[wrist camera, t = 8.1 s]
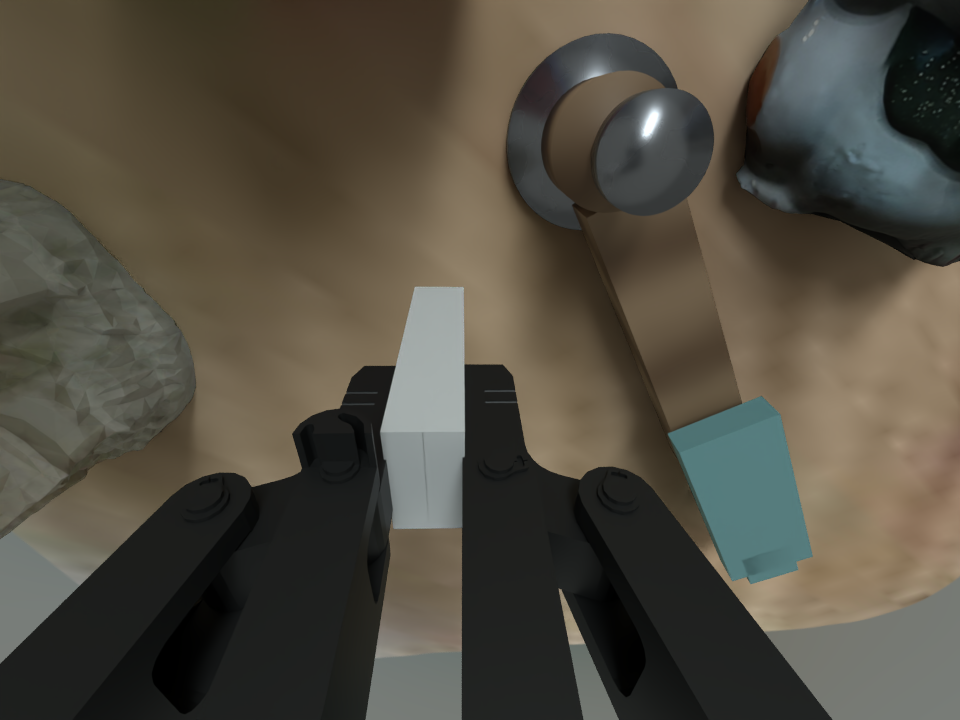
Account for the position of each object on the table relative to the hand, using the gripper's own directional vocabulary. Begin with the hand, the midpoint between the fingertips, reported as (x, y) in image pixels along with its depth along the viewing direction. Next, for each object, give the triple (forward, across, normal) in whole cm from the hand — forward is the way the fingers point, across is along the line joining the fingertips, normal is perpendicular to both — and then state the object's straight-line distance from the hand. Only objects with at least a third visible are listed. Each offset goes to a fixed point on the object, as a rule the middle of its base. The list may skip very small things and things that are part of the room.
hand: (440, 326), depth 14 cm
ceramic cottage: (+11, -24, -6) cm, 27 cm away
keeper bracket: (+9, +18, -14) cm, 24 cm away
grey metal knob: (+10, +7, +4) cm, 13 cm away
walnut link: (+9, +12, -4) cm, 15 cm away
